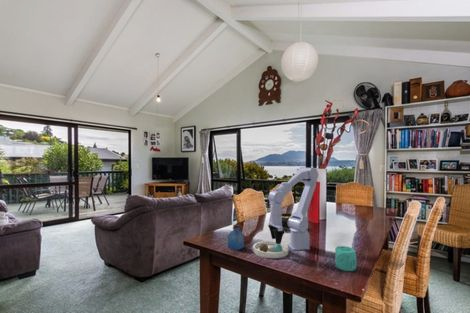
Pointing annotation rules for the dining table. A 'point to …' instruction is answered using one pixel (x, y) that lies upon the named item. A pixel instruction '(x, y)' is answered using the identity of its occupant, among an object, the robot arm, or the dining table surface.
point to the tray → (271, 254)
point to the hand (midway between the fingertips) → (276, 241)
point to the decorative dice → (345, 258)
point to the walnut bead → (263, 247)
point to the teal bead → (277, 248)
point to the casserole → (285, 221)
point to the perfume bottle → (236, 238)
